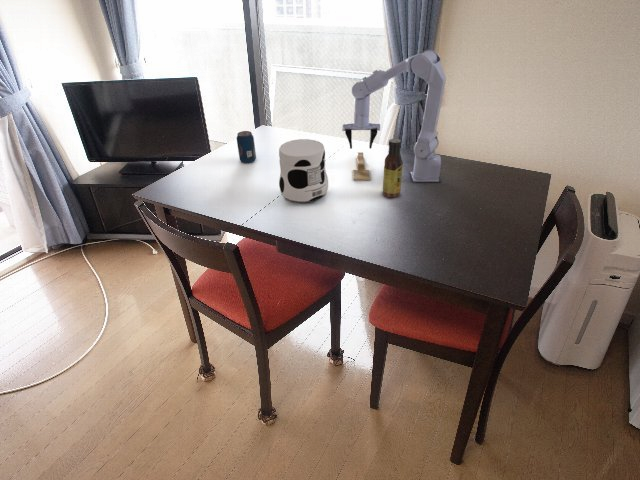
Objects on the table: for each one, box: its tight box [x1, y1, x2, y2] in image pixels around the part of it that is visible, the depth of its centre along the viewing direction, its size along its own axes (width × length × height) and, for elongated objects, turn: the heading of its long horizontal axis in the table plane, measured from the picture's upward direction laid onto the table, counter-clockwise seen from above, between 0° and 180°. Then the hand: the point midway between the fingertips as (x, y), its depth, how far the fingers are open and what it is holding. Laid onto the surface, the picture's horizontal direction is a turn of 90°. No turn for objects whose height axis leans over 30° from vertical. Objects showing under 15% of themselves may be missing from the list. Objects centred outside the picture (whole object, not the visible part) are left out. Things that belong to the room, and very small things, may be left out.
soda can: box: [236, 130, 257, 165], centre depth 173 cm, size 7×7×12 cm
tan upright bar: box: [353, 151, 371, 181], centre depth 166 cm, size 20×6×3 cm, turn 177°
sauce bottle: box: [382, 138, 404, 199], centre depth 143 cm, size 6×6×20 cm
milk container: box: [278, 138, 329, 204], centre depth 145 cm, size 17×17×18 cm
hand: (360, 147), depth 167 cm, fingers open, 7 cm apart
